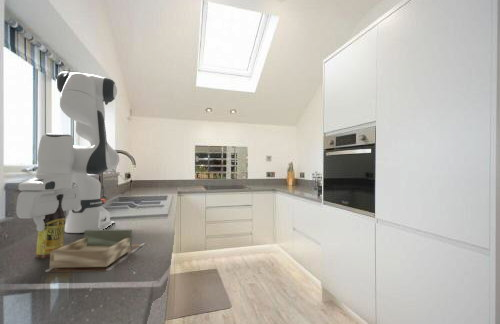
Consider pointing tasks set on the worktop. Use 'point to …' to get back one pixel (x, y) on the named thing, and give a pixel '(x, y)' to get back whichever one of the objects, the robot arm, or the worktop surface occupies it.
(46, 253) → the sauce bottle
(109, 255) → the shallow wooden tray
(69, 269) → the flat board
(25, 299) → the worktop surface
